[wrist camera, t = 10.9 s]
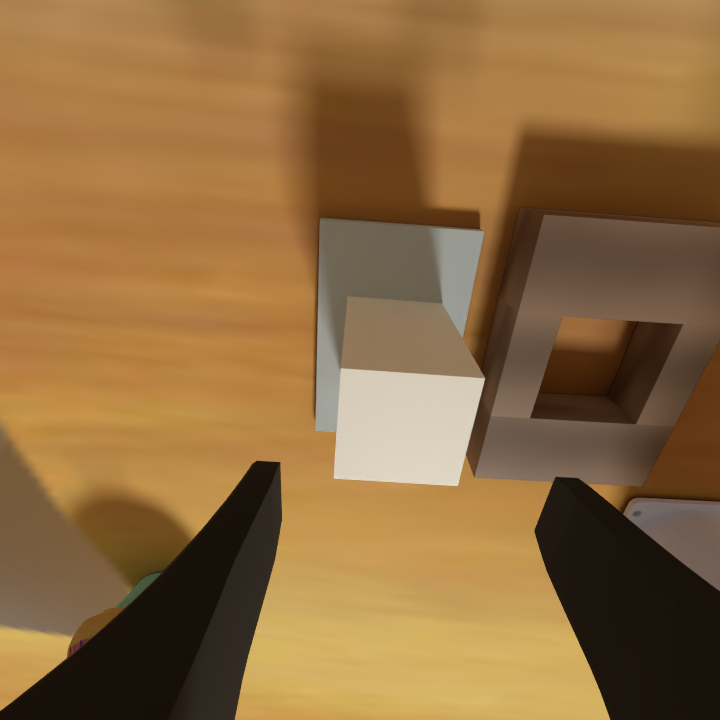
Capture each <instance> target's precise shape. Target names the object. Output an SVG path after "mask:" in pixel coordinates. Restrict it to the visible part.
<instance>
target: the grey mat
mask: <svg viewBox="0 0 720 720" xmlns="http://www.w3.org/2000/svg"><path fill="white" fill-rule="evenodd" d="M483 236H484V231H483V230H481V229H472V228H458V227H444V226H430V225H416V224H402V223H388V222H375V221H361V220H347V219H333V218H320V233H319V281H318V330H317V378H316V427H315V431H328V432H337V419H338V403H339V388H340V372H341V360H342V350H343V339H344V328H345V318H346V307H347V296H352V297H365V298H378V299H392V300H405V301H418V302H431V303H442V304H443V305H444V307H445V309H446V311H447V312H448V314H449V316H450V318H451V319H452V321H453V323H454V325H455V326H456V328H457V330H458V332H459V333H460V335H461V337H462V339H463V334H464V329H465V324H466V319H467V314H468V309H469V304H470V299H471V294H472V290H473V285H474V280H475V275H476V270H477V265H478V260H479V255H480V250H481V245H482V240H483Z"/></svg>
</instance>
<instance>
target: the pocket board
mask: <svg viewBox="0 0 720 720" xmlns="http://www.w3.org/2000/svg"><path fill="white" fill-rule="evenodd" d="M563 316H566V317H581V318H596V319H612V320H627V321H638V324H637V326H636V328H635V331H634V333H633V336H632V338H631V340H630V343H629V345H628V348H627V350H626V352H625V355H624V357H623V360H622V362H621V364H620V367H619V369H618V372H617V374H616V376H615V379H614V381H613V384H612V386H611V388H610V391H609V393H608V396H607V397H605V396H588V395H571V394H555V393H538V392H539V389H540V386H541V382H542V379H543V376H544V373H545V370H546V367H547V364H548V361H549V357H550V354H551V351H552V348H553V345H554V342H555V339H556V336H557V333H558V329H559V326H560V323H561V320H562V317H563ZM719 342H720V222H712V221H698V220H685V219H671V218H658V217H644V216H630V215H617V214H603V213H590V212H576V211H563V210H549V209H536V208H522V207H520V209H519V213H518V218H517V222H516V226H515V230H514V234H513V239H512V243H511V247H510V251H509V256H508V260H507V264H506V268H505V272H504V277H503V281H502V285H501V289H500V294H499V298H498V302H497V306H496V310H495V315H494V319H493V323H492V327H491V332H490V336H489V340H488V344H487V348H486V353H485V357H484V361H483V365H482V370H481V372H482V374H483V375H484V377H485V381H484V385H483V389H482V393H481V397H480V401H479V405H478V408H477V412H476V416H475V420H474V424H473V428H472V432H471V436H470V440H469V443H468V447H467V451H466V456H467V458H468V461H469V464H470V467H471V470H472V472H473V475H474V478H490V479H509V480H528V481H547V482H554V479H555V477H570V478H579V479H580V480H582V481H583V482H584V483H586V484H604V485H623V486H642V487H643V485H644V483H645V481H646V479H647V477H648V476H649V474H650V472H651V470H652V468H653V466H654V464H655V462H656V460H657V459H658V457H659V455H660V453H661V451H662V449H663V447H664V445H665V443H666V442H667V440H668V438H669V436H670V434H671V432H672V430H673V428H674V426H675V425H676V423H677V421H678V419H679V417H680V415H681V413H682V411H683V409H684V408H685V406H686V404H687V402H688V400H689V398H690V396H691V394H692V392H693V391H694V389H695V387H696V385H697V383H698V381H699V379H700V377H701V375H702V374H703V372H704V370H705V368H706V366H707V364H708V362H709V360H710V358H711V357H712V355H713V353H714V351H715V349H716V347H717V345H718V343H719Z"/></svg>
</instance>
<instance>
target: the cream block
mask: <svg viewBox="0 0 720 720" xmlns="http://www.w3.org/2000/svg"><path fill="white" fill-rule="evenodd" d="M484 381H485V377H484V375H483V374H482V372H481V370H480V368H479V367H478V365H477V363H476V361H475V360H474V358H473V356H472V354H471V353H470V351H469V349H468V347H467V346H466V344H465V342H464V340H463V339H462V337H461V335H460V333H459V332H458V330H457V328H456V326H455V325H454V323H453V321H452V319H451V318H450V316H449V314H448V312H447V311H446V309H445V307H444V305H443V304H442V303H431V302H418V301H405V300H392V299H378V298H365V297H352V296H347V307H346V318H345V328H344V339H343V350H342V360H341V372H340V388H339V403H338V419H337V434H336V450H335V465H334V479H351V480H367V481H384V482H401V483H417V484H434V485H451V486H458V482H459V478H460V475H461V471H462V467H463V463H464V459H465V455H466V451H467V447H468V443H469V440H470V436H471V432H472V428H473V424H474V420H475V416H476V412H477V408H478V405H479V401H480V397H481V393H482V389H483V385H484Z"/></svg>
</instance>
